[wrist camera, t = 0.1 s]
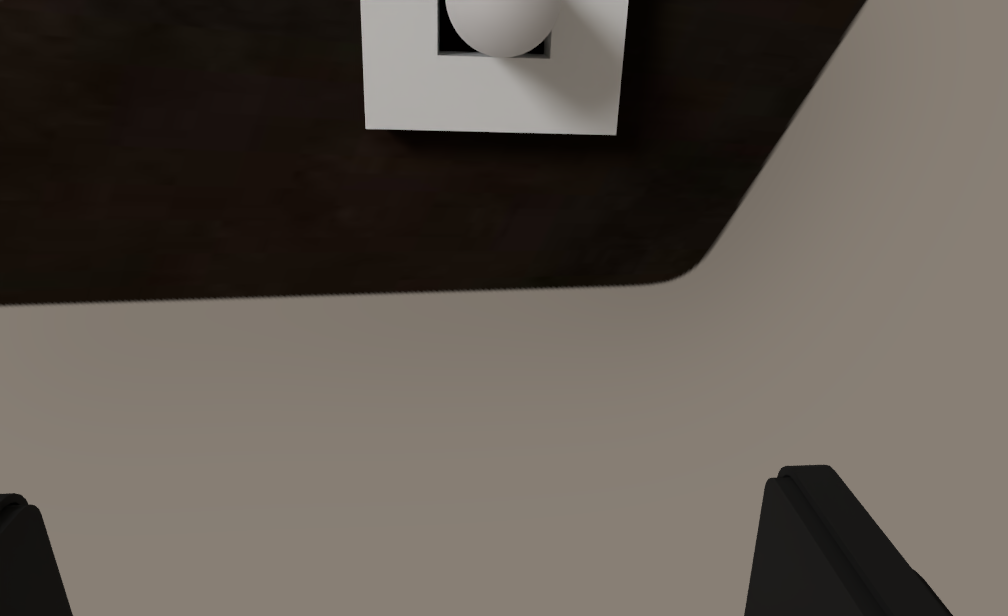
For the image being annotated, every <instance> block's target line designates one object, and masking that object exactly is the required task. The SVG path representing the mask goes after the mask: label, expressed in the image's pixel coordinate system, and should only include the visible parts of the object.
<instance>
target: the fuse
mask: <svg viewBox="0 0 1008 616" xmlns="http://www.w3.org/2000/svg"><path fill="white" fill-rule="evenodd" d="M445 2H446V8H447V12H448V15H449V18H450V21H451V23H452V25H453V27H454V28H455V30H456V32H457V33H458V34H459V36H460V37H461V38H462V39H463V40H464V41H465V42H466V43H467V44H468V45H469V46H471V47H472V48H473V49H475V50H477V51H479V52H481V53H483V54H486V55H489V56H493V57H501V58H503V57H513V56H518V55H521V54H524V53H526V52H528V51H530V50H532V49H533V48H535V47H536V46H538V45H539V44H540V43H541V42H542V41H543V40H544V39H545V38H546V37H547V36H548V34H549V33H550V31H551V30H552V28H553V26H554V25H555V23H556V20H557V18H558V15H559V11H560V7H561V0H445Z"/></svg>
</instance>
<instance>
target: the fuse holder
mask: <svg viewBox="0 0 1008 616" xmlns="http://www.w3.org/2000/svg"><path fill="white" fill-rule="evenodd" d="M627 11H628V0H561V7H560V11H559V15H558V18H557V20H556V23H555V25H554V26H553V28H552V30H551V31H550V33H549V34H548V36H547V37H546V38H545V40H544V54H521V55H518V56H513V57H503V58H501V57H493V56H489V55H486V54H483V53H481V52H460V51H439V0H361V25H362V50H363V75H364V100H365V125H366V129H393V130H432V131H472V132H512V133H551V134H591V135H616V131H617V120H618V109H619V98H620V87H621V76H622V65H623V54H624V44H625V33H626V22H627Z"/></svg>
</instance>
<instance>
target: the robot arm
mask: <svg viewBox="0 0 1008 616" xmlns="http://www.w3.org/2000/svg"><path fill="white" fill-rule="evenodd" d="M0 616H73V615H72V612H71V609H70V605H69V602H68V599H67V596H66V592H65V589H64V586H63V583H62V580H61V576H60V573H59V570H58V566H57V563H56V560H55V557H54V554H53V551H52V547H51V544H50V541H49V537H48V535H47V531H46V528H45V525H44V522H43V518H42V515H41V513H40V511H39V509H38V508H37V507H36V506H35V505H28V503H27V501H26V499H25V498H24V497H23V496H22V495H19V494H15V493H13V494H0ZM744 616H953V615H952V614H951V613H950V611H949V610H948V609H947V608H946V606H945V605H944V604H943V603H942V601H941V600H940V599H939V597H938V596H937V595H936V594H935V593H934V591H933V590H932V589H931V587H930V586H929V585H928V584H927V582H926V581H925V580H924V579H923V578H922V577H921V576H920V575H919V574H918V573H917V572H916V571H915V570H913V569H912V568H911V567H910V566H909V564H908V563H907V562H906V561H905V559H904V558H903V557H902V555H901V554H900V553H899V552H898V550H897V549H896V548H895V547H894V545H893V544H892V543H891V541H890V540H889V539H888V538H887V536H886V535H885V534H884V533H883V531H882V530H881V529H880V528H879V526H878V525H877V524H876V523H875V521H874V520H873V519H872V517H871V516H870V515H869V514H868V512H867V511H866V510H865V509H864V507H863V506H862V505H861V503H860V502H859V501H858V500H857V498H856V497H855V496H854V494H853V493H852V492H851V491H850V490H849V488H848V487H847V486H846V484H845V483H844V482H843V481H842V479H841V478H840V477H839V475H838V474H837V473H836V472H835V470H833V469H832V468H831V467H830V466H828V465H805V466H785V467H783V468H781V470H780V471H779V473H778V477H777V478H770V479H768V480H767V482H766V485H765V489H764V496H763V502H762V508H761V514H760V521H759V527H758V533H757V540H756V546H755V552H754V558H753V564H752V571H751V577H750V583H749V590H748V596H747V603H746V608H745V615H744Z"/></svg>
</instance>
